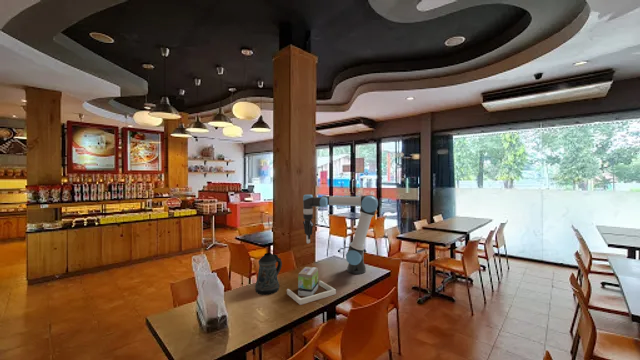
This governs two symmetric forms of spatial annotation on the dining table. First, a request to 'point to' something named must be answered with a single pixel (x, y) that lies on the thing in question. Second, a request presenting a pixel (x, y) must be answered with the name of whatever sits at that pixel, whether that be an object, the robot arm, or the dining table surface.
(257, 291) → the beer stein
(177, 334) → the dining table surface
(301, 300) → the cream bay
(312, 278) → the tea box
